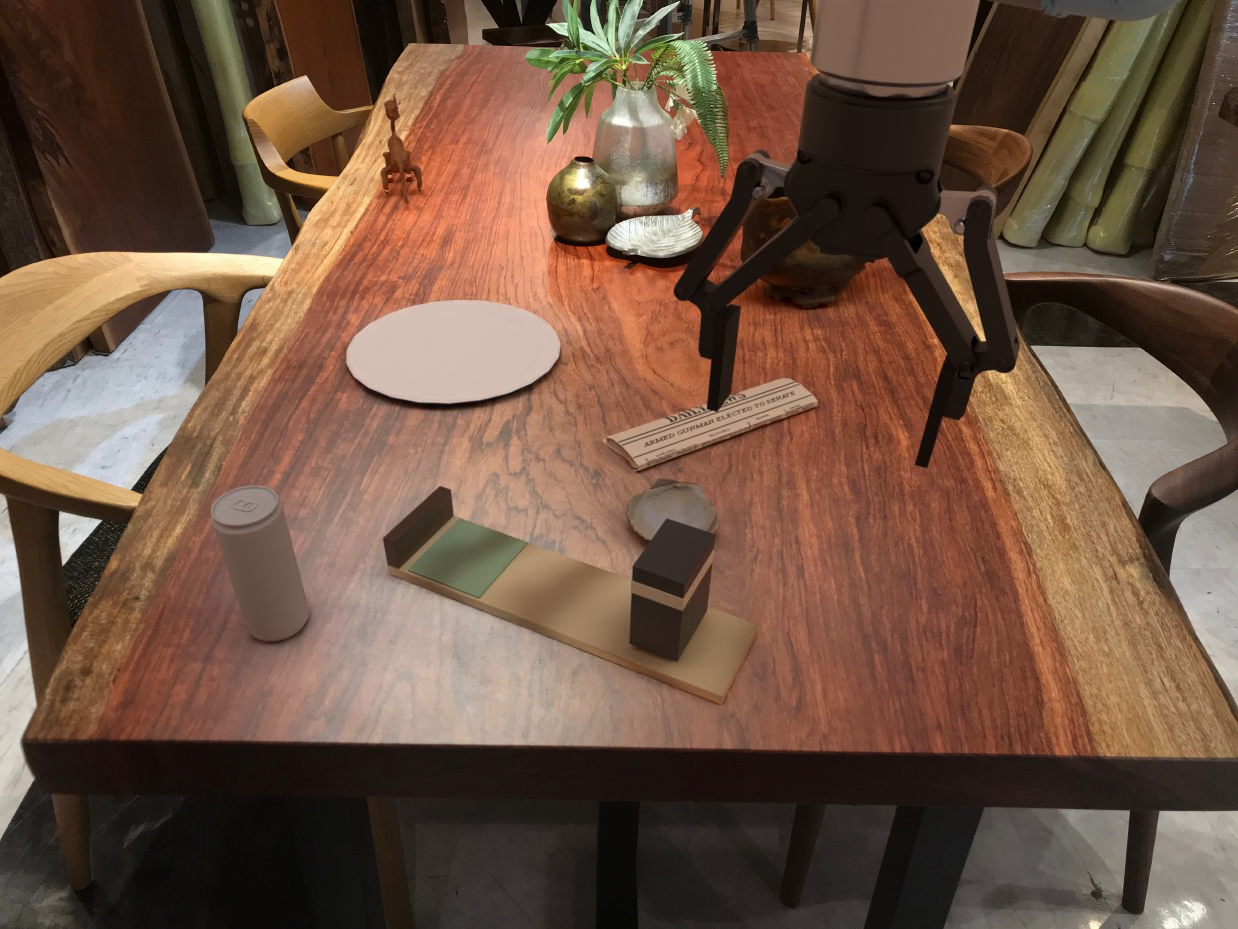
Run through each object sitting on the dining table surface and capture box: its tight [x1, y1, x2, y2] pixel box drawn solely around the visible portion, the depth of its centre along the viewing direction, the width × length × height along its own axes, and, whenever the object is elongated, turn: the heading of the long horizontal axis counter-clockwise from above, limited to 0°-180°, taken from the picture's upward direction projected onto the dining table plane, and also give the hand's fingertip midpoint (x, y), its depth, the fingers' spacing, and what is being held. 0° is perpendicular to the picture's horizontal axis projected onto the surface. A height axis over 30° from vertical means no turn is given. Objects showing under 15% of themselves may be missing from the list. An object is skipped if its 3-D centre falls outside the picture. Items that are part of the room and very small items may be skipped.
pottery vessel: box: [740, 162, 868, 309], centre depth 116 cm, size 25×11×20 cm, turn 118°
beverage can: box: [210, 484, 310, 643], centre depth 67 cm, size 5×5×12 cm
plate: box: [345, 299, 562, 406], centre depth 106 cm, size 25×25×1 cm
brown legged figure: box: [380, 93, 423, 205], centre depth 146 cm, size 18×7×14 cm, turn 16°
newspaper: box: [601, 377, 819, 472], centre depth 95 cm, size 24×7×2 cm, turn 122°
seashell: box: [626, 477, 719, 542], centre depth 80 cm, size 8×3×8 cm
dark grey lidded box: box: [629, 518, 717, 662], centre depth 67 cm, size 4×6×8 cm
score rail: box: [382, 485, 759, 705], centre depth 72 cm, size 30×8×4 cm, turn 64°
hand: (817, 427), depth 58 cm, fingers open, 13 cm apart
